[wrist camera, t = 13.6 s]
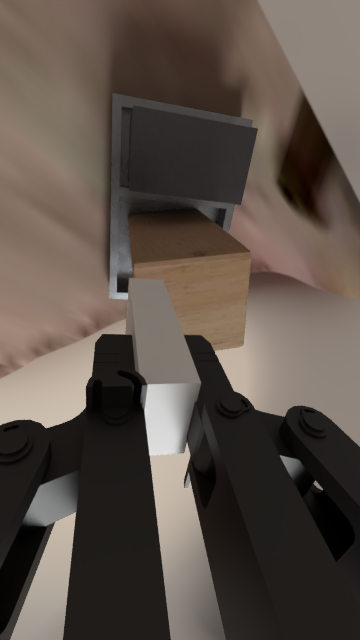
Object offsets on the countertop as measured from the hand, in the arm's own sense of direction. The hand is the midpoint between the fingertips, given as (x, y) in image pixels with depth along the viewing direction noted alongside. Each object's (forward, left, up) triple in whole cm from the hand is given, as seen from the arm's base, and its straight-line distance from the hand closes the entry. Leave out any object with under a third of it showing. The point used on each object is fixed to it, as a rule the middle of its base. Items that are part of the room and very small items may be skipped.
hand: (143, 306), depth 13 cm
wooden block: (+6, -6, -30) cm, 31 cm away
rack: (+6, -1, -31) cm, 32 cm away
